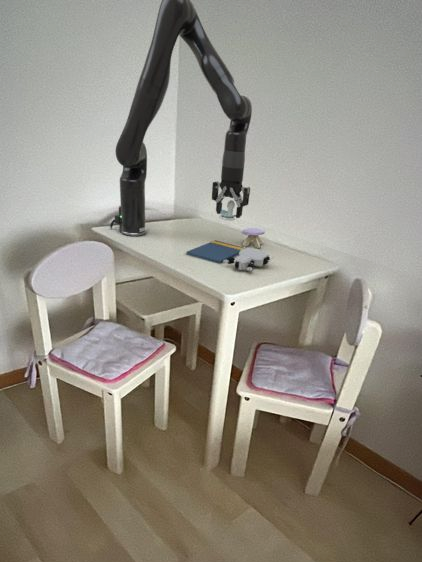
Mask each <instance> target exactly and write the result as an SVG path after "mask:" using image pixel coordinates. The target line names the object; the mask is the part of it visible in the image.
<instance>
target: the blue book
mask: <svg viewBox="0 0 422 562" xmlns="http://www.w3.org/2000/svg"><path fill="white" fill-rule="evenodd" d="M244 247H245V246H239V245H235V244H231V243H228V242H224V241H221V240H211V241H209V242H207V243H205V244H202V245H200V246H198V247H195V248H192V249H190V250H187V251H186V255H187V256H191V257H195V258H199V259H202V260H206V261H208V262H214V263H216V264H222V263H224V262H223V261H224V260H227V258H231V257H233V258H236V257H238V252H239V251H241V250H242V249H243V248H244Z"/></svg>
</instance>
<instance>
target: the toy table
mask: <svg viewBox="0 0 422 562" xmlns="http://www.w3.org/2000/svg"><path fill="white" fill-rule="evenodd" d="M265 233H266V230H265V229H262V228H257V227H255V228H254V227H252V228H251V227H249V228H243V229H242V230H241V234H243V235H245V236H247V237H246V238H244V241H243V242H242V247H249V246H250V243H251V241H253V244H254V247H255V249H261V245H262V244H263V241H262V240H261V239H260V237H259V236H262V235H264V234H265Z"/></svg>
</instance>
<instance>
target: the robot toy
mask: <svg viewBox="0 0 422 562" xmlns="http://www.w3.org/2000/svg"><path fill="white" fill-rule="evenodd" d="M243 247H244V248H243V249H242V250H241V251H239V252H238V255H237V256H235V257H231V258H227V260H224V261H223V262H222V263H224V264H228V265H232V264H233V269H237V270H239V271H244V272H246V271H249V272H253V270H254V267H259V268H261V267H263V266H266V265H267V264H269V263H270V262H271V261H272V260H273V258H275V255H272V257H270V254H269V253H268V252H266V251H264V250H261V249H259V248H252V247H247V246H243Z"/></svg>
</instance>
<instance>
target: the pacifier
mask: <svg viewBox="0 0 422 562" xmlns="http://www.w3.org/2000/svg"><path fill="white" fill-rule="evenodd" d="M235 206H236V202H235V200H228V201H227V203H226V208H227V210H226V209H222V210H221V214H219V215H218V218H219V219H221V220H225V221H235V218H236V214H233V213H234V209H235Z"/></svg>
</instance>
